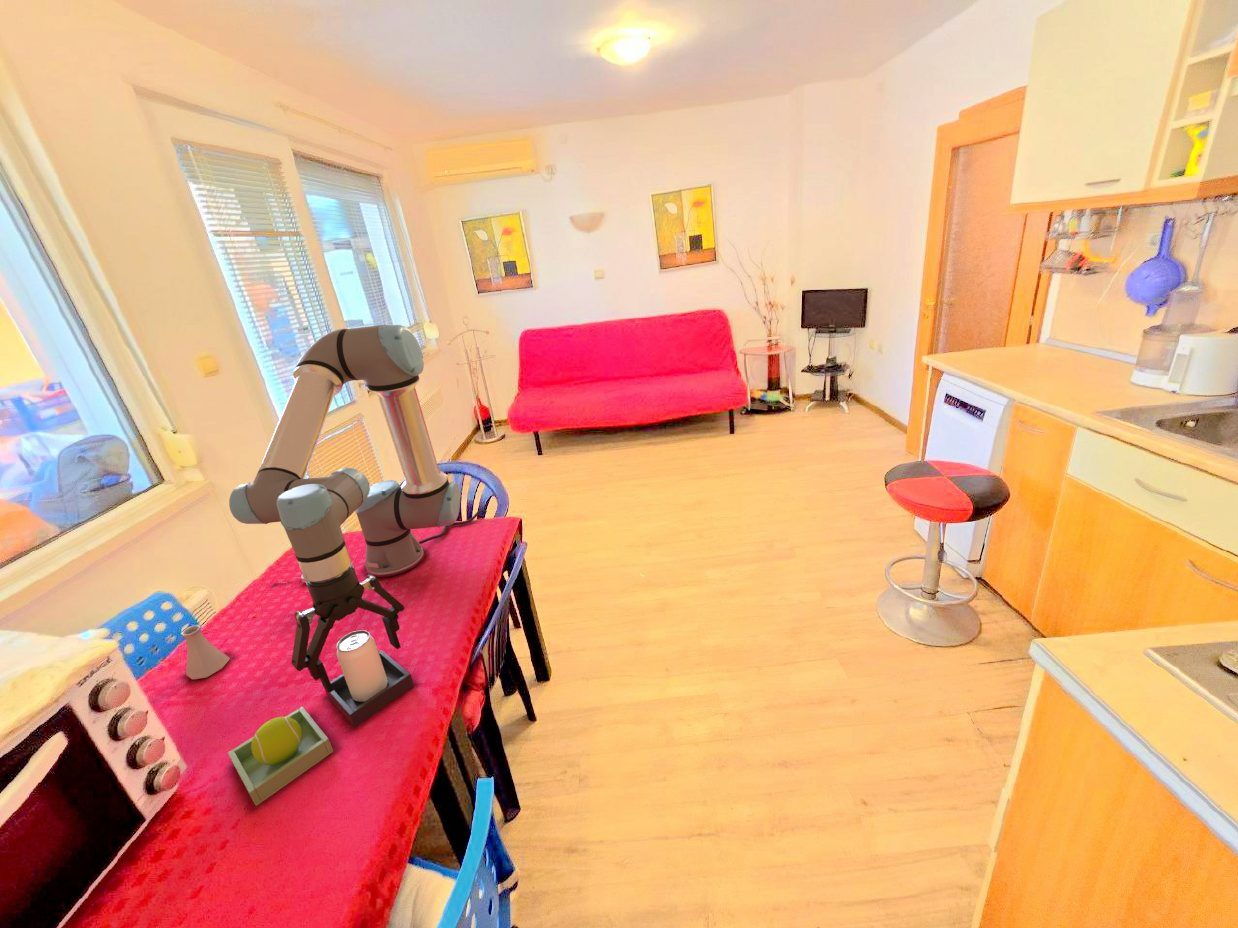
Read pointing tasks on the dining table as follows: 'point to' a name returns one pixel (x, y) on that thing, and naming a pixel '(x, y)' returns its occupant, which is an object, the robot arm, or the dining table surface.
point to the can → (361, 665)
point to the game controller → (301, 578)
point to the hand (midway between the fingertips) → (363, 665)
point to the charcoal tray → (361, 711)
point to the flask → (202, 654)
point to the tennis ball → (276, 740)
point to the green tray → (274, 777)
